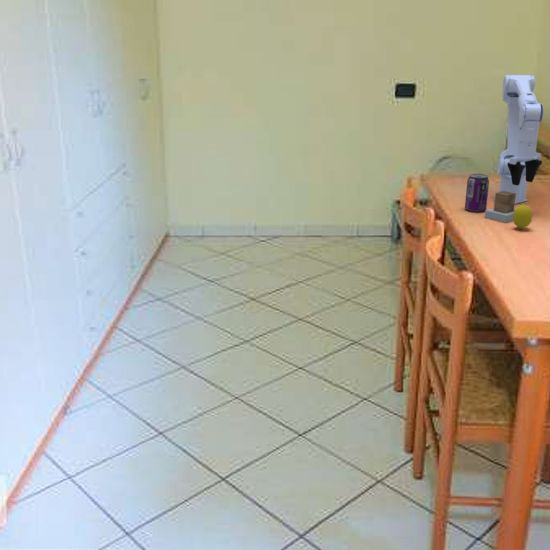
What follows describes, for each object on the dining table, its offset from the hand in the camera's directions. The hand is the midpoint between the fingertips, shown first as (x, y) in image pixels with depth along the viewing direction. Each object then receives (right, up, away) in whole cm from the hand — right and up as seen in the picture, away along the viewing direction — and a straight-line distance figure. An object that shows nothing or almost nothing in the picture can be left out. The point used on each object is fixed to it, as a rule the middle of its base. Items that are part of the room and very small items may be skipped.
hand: (522, 183), depth 223 cm
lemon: (-5, -16, -13) cm, 21 cm away
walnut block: (-7, -9, -2) cm, 12 cm away
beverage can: (-13, -8, +9) cm, 18 cm away
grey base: (-7, -12, -1) cm, 14 cm away
